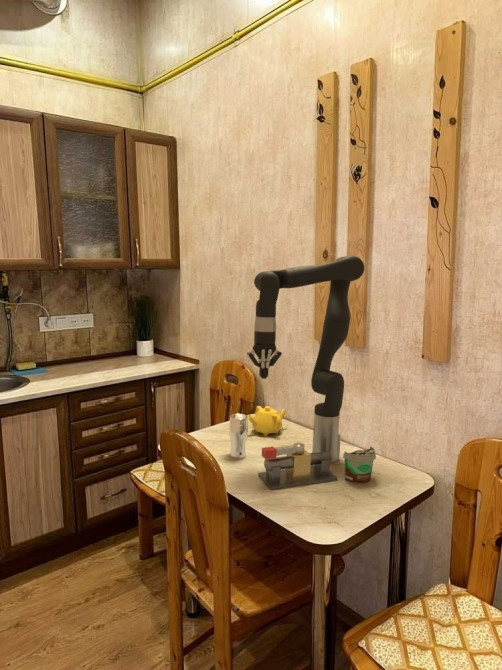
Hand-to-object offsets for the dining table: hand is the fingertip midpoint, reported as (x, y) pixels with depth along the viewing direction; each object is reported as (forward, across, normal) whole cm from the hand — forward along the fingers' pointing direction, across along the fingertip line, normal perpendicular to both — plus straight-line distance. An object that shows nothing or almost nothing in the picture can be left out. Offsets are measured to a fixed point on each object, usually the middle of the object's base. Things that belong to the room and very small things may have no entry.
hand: (263, 378), depth 164 cm
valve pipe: (+31, -7, +16) cm, 36 cm away
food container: (+31, -27, +24) cm, 48 cm away
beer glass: (+31, +6, -8) cm, 33 cm away
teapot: (+31, -14, -28) cm, 44 cm away
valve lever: (+22, -1, +16) cm, 27 cm away
